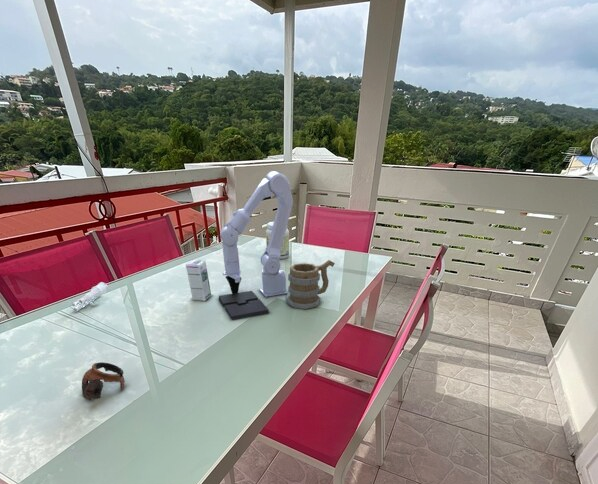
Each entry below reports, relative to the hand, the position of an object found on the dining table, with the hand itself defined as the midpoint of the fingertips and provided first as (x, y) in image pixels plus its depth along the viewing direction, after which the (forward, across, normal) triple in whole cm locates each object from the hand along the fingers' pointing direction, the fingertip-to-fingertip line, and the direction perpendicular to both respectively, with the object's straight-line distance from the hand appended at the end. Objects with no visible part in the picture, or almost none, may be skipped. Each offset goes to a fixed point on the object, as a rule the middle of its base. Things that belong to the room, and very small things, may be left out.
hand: (235, 293), depth 135 cm
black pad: (+1, +6, 0) cm, 6 cm away
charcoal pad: (+1, +16, 0) cm, 16 cm away
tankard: (+1, +16, +27) cm, 32 cm away
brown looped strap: (+1, +47, -48) cm, 67 cm away
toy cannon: (+1, -13, -53) cm, 55 cm away
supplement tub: (+1, -43, +36) cm, 56 cm away
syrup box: (+1, -4, -13) cm, 14 cm away
